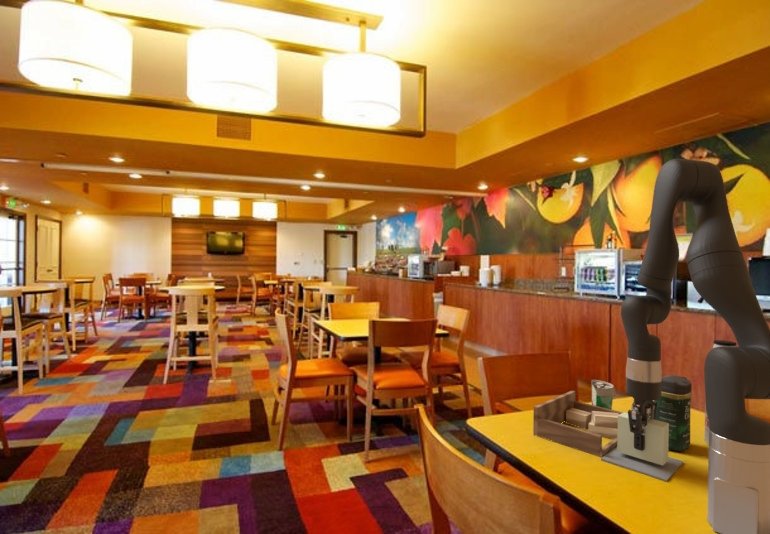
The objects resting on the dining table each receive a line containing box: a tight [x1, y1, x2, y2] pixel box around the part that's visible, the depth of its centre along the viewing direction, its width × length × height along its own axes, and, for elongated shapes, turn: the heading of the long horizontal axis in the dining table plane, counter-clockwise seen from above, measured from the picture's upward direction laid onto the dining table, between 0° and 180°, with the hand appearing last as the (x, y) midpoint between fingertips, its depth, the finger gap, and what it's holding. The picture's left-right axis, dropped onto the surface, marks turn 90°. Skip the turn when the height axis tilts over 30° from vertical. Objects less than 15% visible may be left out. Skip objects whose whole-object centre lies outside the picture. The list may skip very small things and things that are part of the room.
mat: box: [600, 447, 684, 483], centre depth 106 cm, size 14×14×1 cm
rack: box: [532, 390, 623, 458], centre depth 123 cm, size 24×19×8 cm
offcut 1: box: [565, 408, 592, 430], centre depth 130 cm, size 4×6×4 cm, turn 39°
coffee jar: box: [653, 374, 693, 452], centre depth 116 cm, size 10×8×19 cm
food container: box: [591, 379, 616, 410], centre depth 138 cm, size 12×6×10 cm, turn 161°
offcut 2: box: [592, 411, 619, 428], centre depth 123 cm, size 4×7×3 cm, turn 76°
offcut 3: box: [587, 421, 618, 440], centre depth 123 cm, size 5×8×3 cm, turn 51°
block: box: [617, 411, 669, 465], centre depth 106 cm, size 4×10×9 cm, turn 42°
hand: (642, 446), depth 106 cm, fingers closed on block, 4 cm apart
